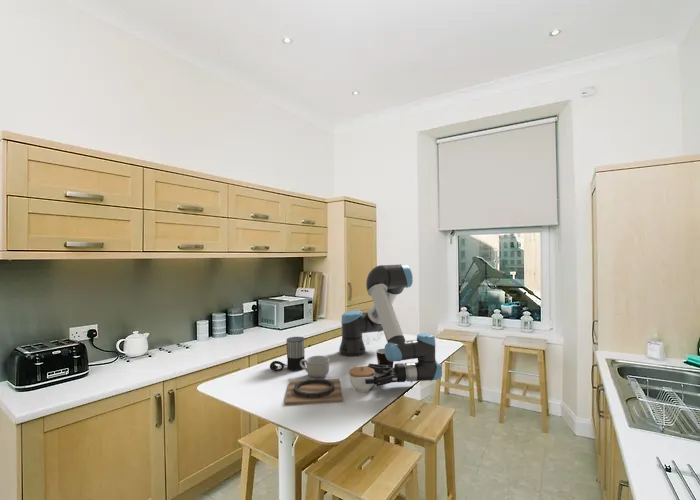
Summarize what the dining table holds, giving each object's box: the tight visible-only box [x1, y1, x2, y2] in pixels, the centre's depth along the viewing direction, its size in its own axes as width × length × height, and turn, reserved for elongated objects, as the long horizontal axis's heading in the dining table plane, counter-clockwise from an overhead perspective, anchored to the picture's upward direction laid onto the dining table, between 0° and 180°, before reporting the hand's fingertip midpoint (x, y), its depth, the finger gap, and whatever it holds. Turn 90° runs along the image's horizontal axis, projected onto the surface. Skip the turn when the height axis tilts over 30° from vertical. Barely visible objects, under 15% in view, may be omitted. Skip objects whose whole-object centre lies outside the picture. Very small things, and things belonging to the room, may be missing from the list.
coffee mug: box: [375, 348, 394, 368], centre depth 165 cm, size 12×9×10 cm
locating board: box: [284, 377, 344, 406], centre depth 142 cm, size 22×22×2 cm
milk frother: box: [269, 336, 306, 372], centre depth 171 cm, size 14×16×15 cm
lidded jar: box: [348, 365, 376, 393], centre depth 144 cm, size 11×11×9 cm
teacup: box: [300, 355, 330, 379], centre depth 161 cm, size 14×11×8 cm
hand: (354, 375), depth 144 cm, fingers open, 13 cm apart
